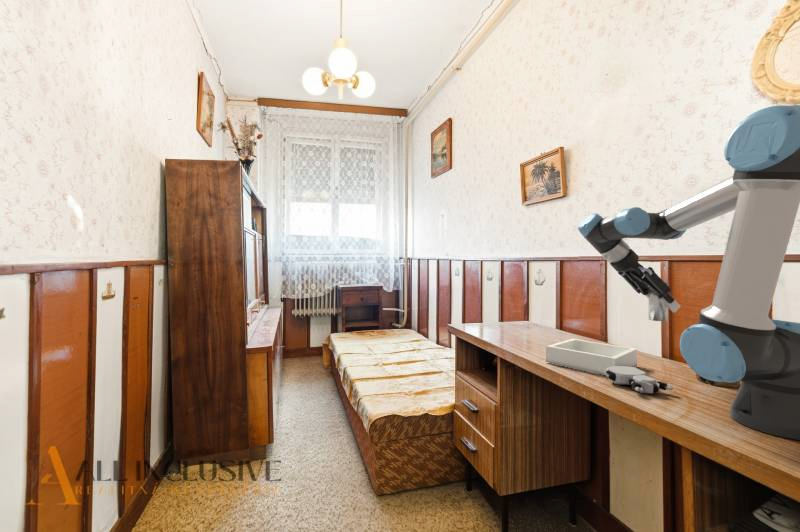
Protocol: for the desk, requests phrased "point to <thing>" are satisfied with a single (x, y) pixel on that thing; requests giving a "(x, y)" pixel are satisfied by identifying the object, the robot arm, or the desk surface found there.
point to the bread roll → (716, 383)
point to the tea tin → (657, 307)
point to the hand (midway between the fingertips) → (669, 308)
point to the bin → (590, 355)
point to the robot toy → (635, 379)
